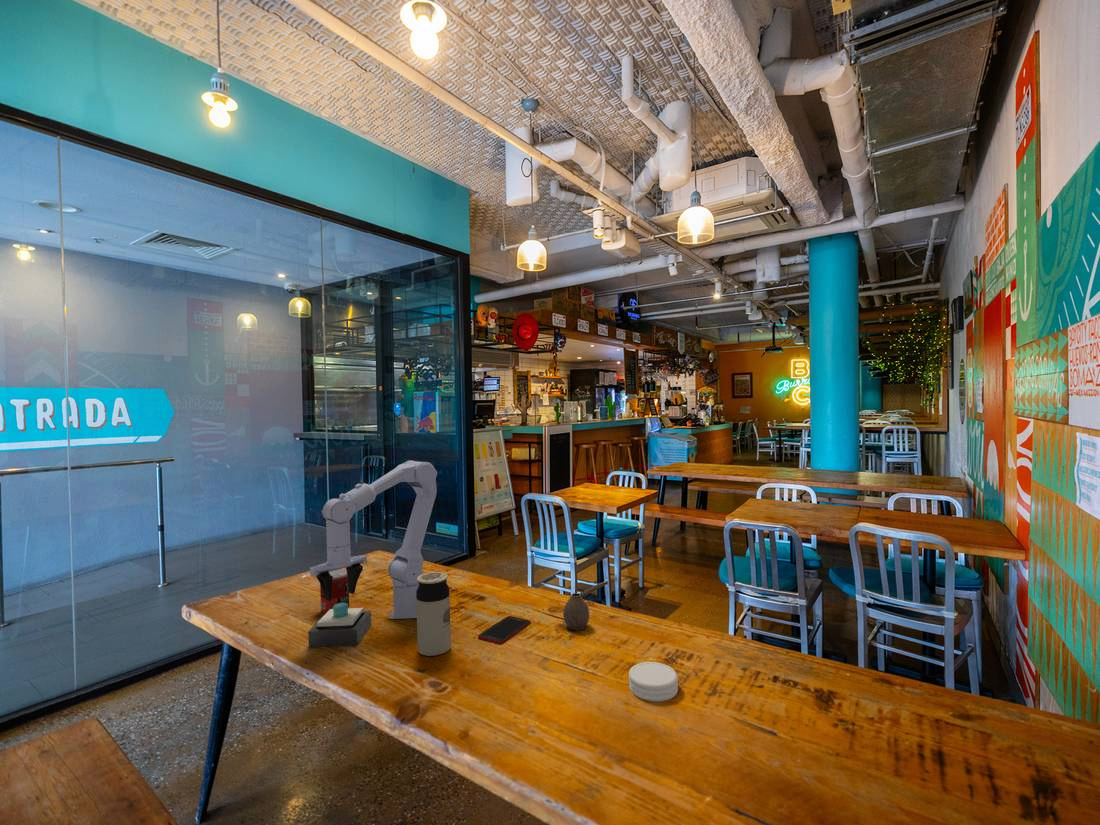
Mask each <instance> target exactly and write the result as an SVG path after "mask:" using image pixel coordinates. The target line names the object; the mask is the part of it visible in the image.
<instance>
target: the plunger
mask: <svg viewBox="0 0 1100 825" xmlns="http://www.w3.org/2000/svg"><path fill="white" fill-rule="evenodd" d="M363 611H364V607H354V608H353V607H349V608H348V604H347V603H339V604H336V605H334V606H333V609H330V610H329V611H328V612H327V613H326V614H323V616H322V617H320V619H319V620H318V621H317V622H316V623H317V627H321V626H345V625H353V624H354V622H355V621H356V620H357V619H358V617H359V616H360V615H361V614H362V612H363Z"/></svg>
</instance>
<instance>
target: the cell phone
mask: <svg viewBox="0 0 1100 825" xmlns="http://www.w3.org/2000/svg"><path fill="white" fill-rule="evenodd" d="M530 624H532V622H531V620H530V619H525V618H522V617H517V616H511V615H508V616H506V617H504V618H502V619H501V620H500V621H498V622H497V623H495V624H493V625H492V626H490V627H489V628H488V629H487V628H486V630H484V631H482V632H481V633H480V634H478V635H477V639H478V640H480V641H483V642H489V643H493V644H496V645H503V644H505V643H506V642H507V641H509V640H510V639H511V638H514V637H515V636H516V635H517V634H519V633H520V631H523V630H524V629H526V628H527V627H528V626H530Z"/></svg>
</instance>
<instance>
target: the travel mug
mask: <svg viewBox="0 0 1100 825" xmlns="http://www.w3.org/2000/svg"><path fill="white" fill-rule="evenodd" d="M448 578H449V575H448V573H446V572H442V571H431V572H429V571H428V572H425V573H423V574H422V575H420V576H418V577H417V581H418V583H419V586H418V588H417V591H416V603H417V618H416V633H417V637H416V638H417V652H418V653H419V654H420V655H423V656H428V657H435V656H440V655H443V654H445V653H447V652H448V651H449V650H450V649H451V647H452V644H451V643H452V642H451V641H452V638H451V636H452V635H451V634H452V633H451V632H452V631H451V603H450V602H451V601H450V587H449V584H448V582H447V581H448Z"/></svg>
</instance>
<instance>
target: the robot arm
mask: <svg viewBox="0 0 1100 825" xmlns="http://www.w3.org/2000/svg"><path fill="white" fill-rule="evenodd" d="M437 475H438V471H437V470H436V468H435V467H434V465H433V464H432V463H431V462H430V461H429V462H428V461H415V460H410V459H409V460H407V461H405V462H403V463H401V464H398V465H397V466H396V467H395V468H394V469H392V470H390V471H389V472H387V473H386V474H384V475H383V476H381V477H379V478H378V479H376V480H375V481H373V482H371V484H368V483H365V482H364V483H362V484H361V483H357V484H356V485H354V488H353V489H351V490H349V491H347V492H346V493H340V494H339V495H338V496H339V497H338V498H331V499H329V500H327V501H326V502H325V504H323V508H322V510H321V515H322V516H323V518H324V519H325V520H326V521H325V523H326V524H325V525H326V526H325V527H326V528H325V530H326V532H325V534H326V556H327V557H326V559H327V560H326V562H324V563H323V562H322V563H320V564H317V565H314V566H312V567H311V566H310V567H309V576H311V577H313V578H314V577H316V580H318V582H319V585H320V584H321V587H322V589H323V592H324V595H325V599H326V600H327V601H331V600H332V590H331V588H332V579H333V576H331V575H330V573H329V572H330V571H334V570H338V569H341V570H343V569H345V570H347V576H348V591H349V594H351V595H354V594H355V592H356V589H357V584H358V581H359V578H360V576H361V573H362V572H363V570H364V566H363V565H364V564H365V565H366V564H368V557H367V555H365V554H361V555H354V556H351V555H352V554H351V553H352V552H351V551H352V550H351V527H350V520H351V519H352V517H354V516H353V515H354V514H355V513H357V512H358V511H360V510H362V509H363V508H365V507H367V506H368V505H370V504H372V503H373V502H375V501H376V497H377V495H379V494H381V493H382V492H385V491H386V490H388V489H390V488H392V487H394V486H396V485H397V484H399V483H407V484H408V485H410V486H411V487H412V489H413V490H414V492H415V494H416V497H415V500H414V503H413V507H412V511H411V514H410V517H409V521H408V525H407V526H406V527H407V528H406V531H405V534H404V537H403V542H402V544H401V545H402V546H401V547H400V548H399V549H397V550H396V551H395V553H394V556H393V558H392V560H391V561H390V562H389V564H388V566H387V572H388V576H389V577H391V579H392V600H393V601H392V604H393V605H392V606H393V607H392V608H393V611H392V613H391V614H390V616H389V617H388V618H389V620H400V619H401V620H402V619H403V620H404V619H417V603H416V591H417V588H418V586H419V583H418V581H417V577H418V576H420V575H422V574H424V573H423V572H424V569H423V566H424V561H425V560H424V558H423V555H422V553H421V550H422V547H423V543H424V539H425V536H426V532H427V529H428V524H429V521H430V518H431V515H432V511H433V507H434V504H435V500H436V497H437V492H438V491H437V490H438V489H437V480H436V478H437ZM361 564H363V565H361Z"/></svg>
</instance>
